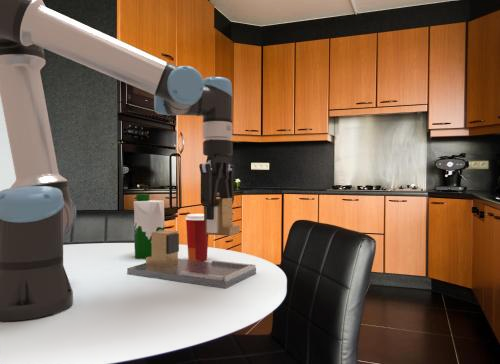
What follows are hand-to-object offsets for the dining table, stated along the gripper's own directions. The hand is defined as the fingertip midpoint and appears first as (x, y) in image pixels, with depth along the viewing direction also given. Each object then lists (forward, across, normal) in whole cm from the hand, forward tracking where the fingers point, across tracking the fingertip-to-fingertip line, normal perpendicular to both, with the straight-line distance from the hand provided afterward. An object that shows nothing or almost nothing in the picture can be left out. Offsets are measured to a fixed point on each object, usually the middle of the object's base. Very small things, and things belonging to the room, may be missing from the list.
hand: (218, 231), depth 101 cm
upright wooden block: (+1, 0, 0) cm, 1 cm away
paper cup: (+12, +15, +17) cm, 25 cm away
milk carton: (+12, +12, +34) cm, 38 cm away
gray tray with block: (+12, 0, +8) cm, 14 cm away
